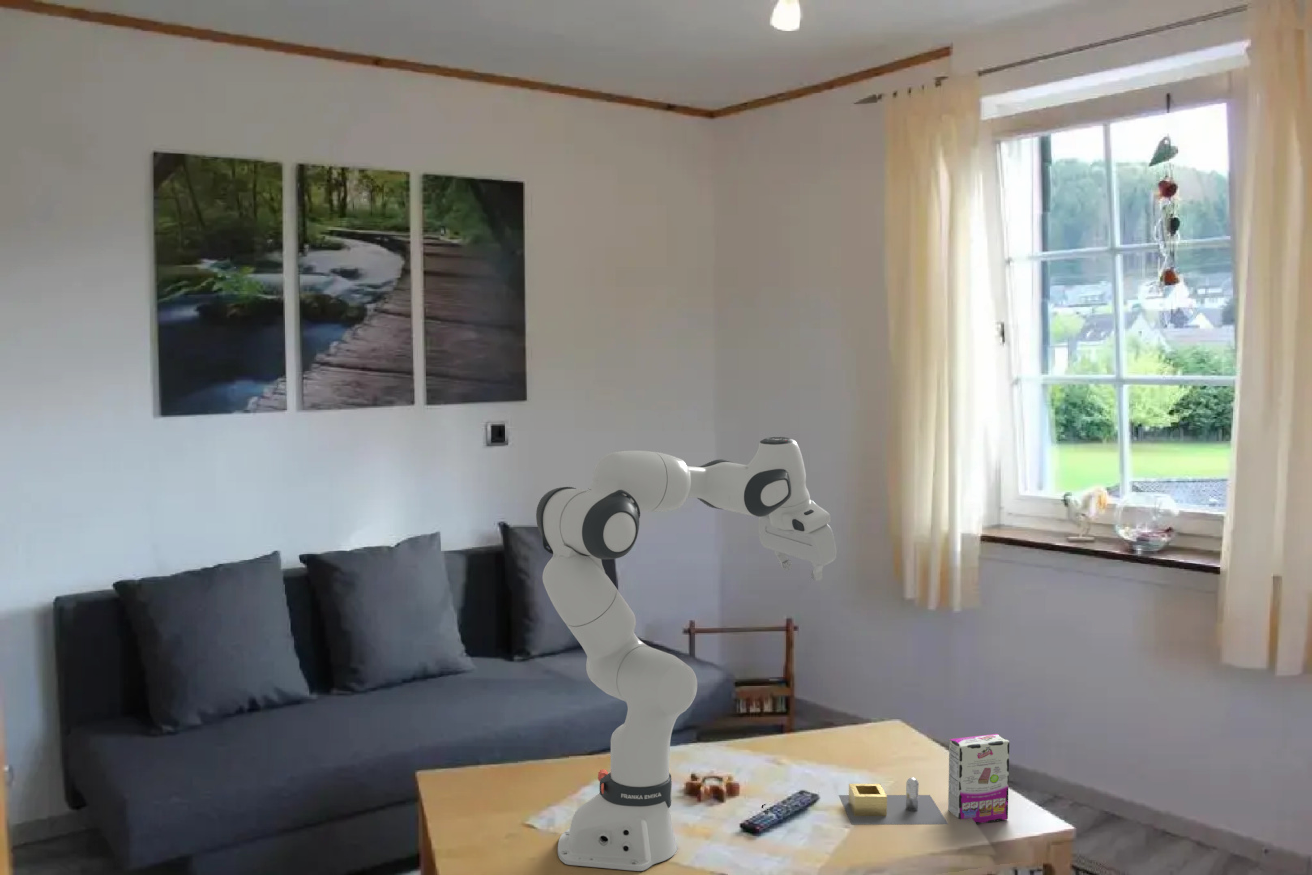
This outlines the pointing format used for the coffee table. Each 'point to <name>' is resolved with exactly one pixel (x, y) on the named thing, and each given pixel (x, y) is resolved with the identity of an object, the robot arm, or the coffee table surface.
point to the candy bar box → (979, 778)
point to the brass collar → (867, 800)
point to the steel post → (912, 794)
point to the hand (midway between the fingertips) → (802, 574)
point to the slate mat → (900, 812)
